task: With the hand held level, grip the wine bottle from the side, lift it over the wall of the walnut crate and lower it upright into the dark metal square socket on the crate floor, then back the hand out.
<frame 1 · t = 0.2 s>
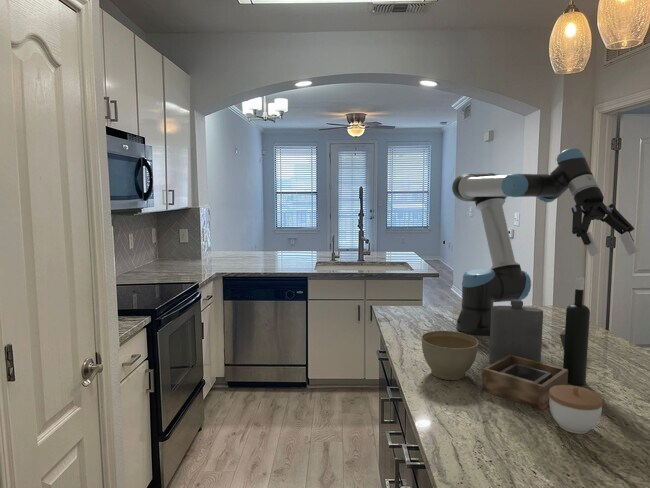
hand: (614, 253, 132), 35 cm above the countertop, tool tilted 35°, fingers open, 13 cm apart
crate: (524, 390, 123), on the countertop
wine bottle: (573, 382, 129), on the countertop
planter bowl: (448, 375, 134), on the countertop
flask: (514, 363, 143), on the countertop
lidded jar: (573, 427, 104), on the countertop
electrical switch: (571, 356, 149), on the countertop
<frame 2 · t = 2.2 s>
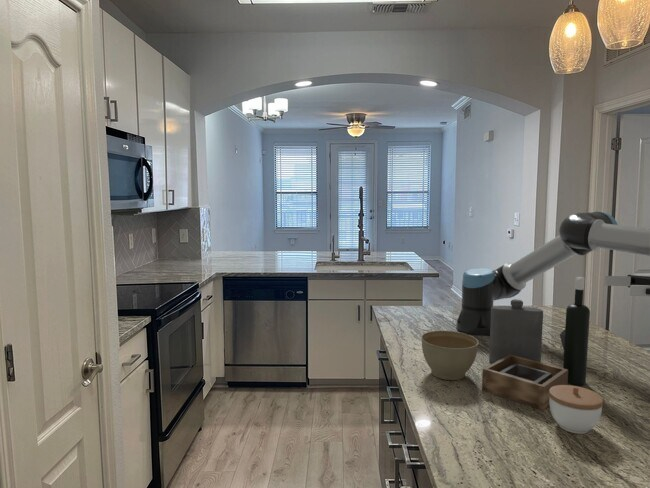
hand: (617, 285, 124), 28 cm above the countertop, tool horizontal, fingers open, 13 cm apart
nothing on the countertop moved.
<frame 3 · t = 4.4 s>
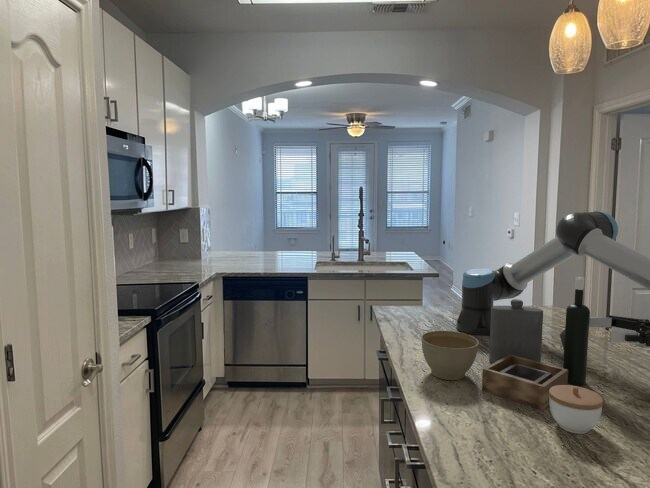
hand: (597, 328, 126), 16 cm above the countertop, tool horizontal, fingers open, 13 cm apart
nothing on the countertop moved.
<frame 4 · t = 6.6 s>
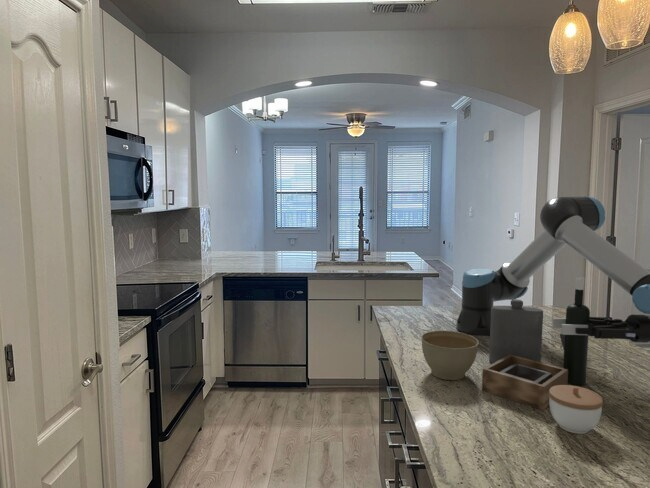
hand: (557, 325, 128), 16 cm above the countertop, tool horizontal, fingers closed on wine bottle, 6 cm apart
wine bottle: (573, 382, 129), on the countertop, touching gripper
everything else where it was.
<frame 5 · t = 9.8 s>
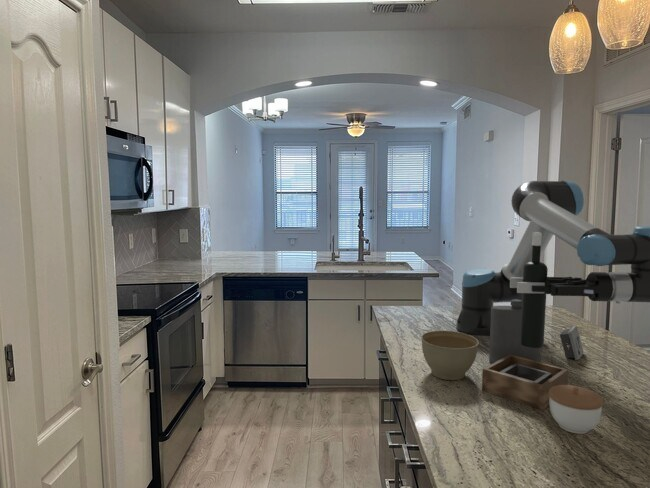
hand: (514, 285, 120), 29 cm above the countertop, tool horizontal, fingers closed on wine bottle, 6 cm apart
wine bottle: (531, 345, 122), point 13 cm above the countertop, touching gripper
everything else where it was.
when the fingers open (18 cm above the countertop, at t = 12.8 s): wine bottle drops 1 cm, resting on crate.
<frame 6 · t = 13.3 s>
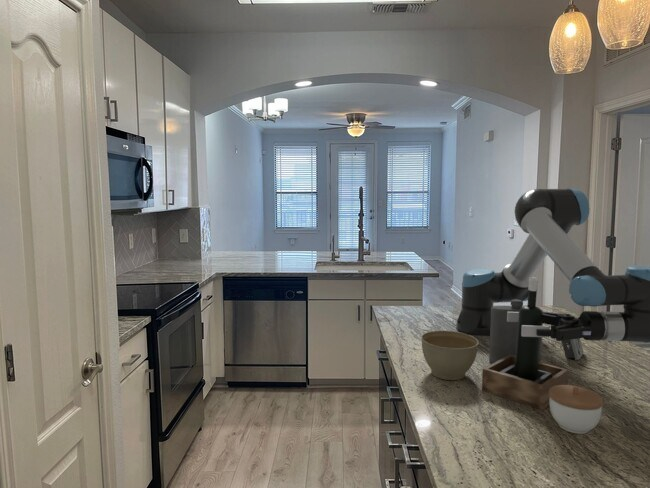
hand: (514, 323, 121), 18 cm above the countertop, tool horizontal, fingers open, 13 cm apart
wine bottle: (524, 387, 123), point 1 cm above the countertop, touching crate
everything else where it was.
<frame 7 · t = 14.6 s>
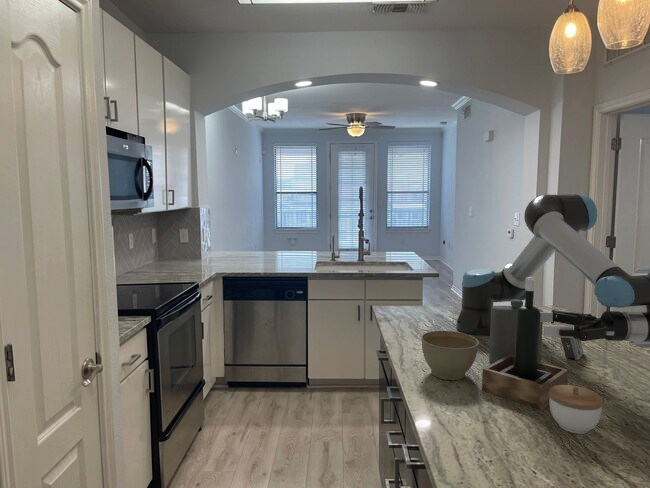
hand: (535, 323, 120), 19 cm above the countertop, tool horizontal, fingers open, 13 cm apart
nothing on the countertop moved.
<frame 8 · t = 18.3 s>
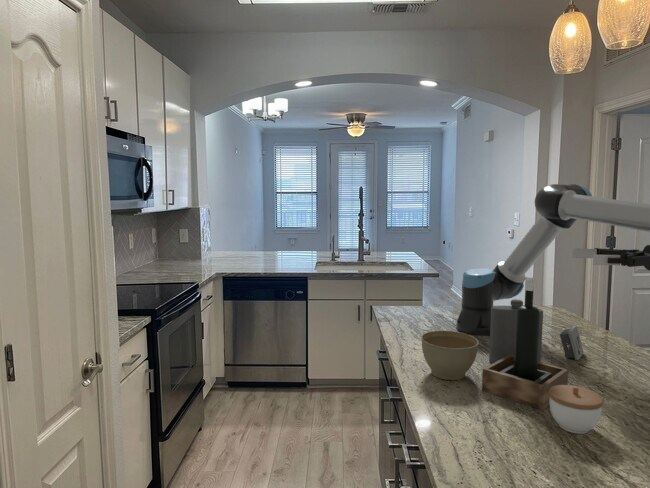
hand: (582, 256, 130), 35 cm above the countertop, tool horizontal, fingers open, 13 cm apart
nothing on the countertop moved.
at the end: wine bottle 0.0 cm off-centre on the crate, point 0.8 cm above the crate's base; wine bottle tilted 0°; the gripper is holding nothing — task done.
